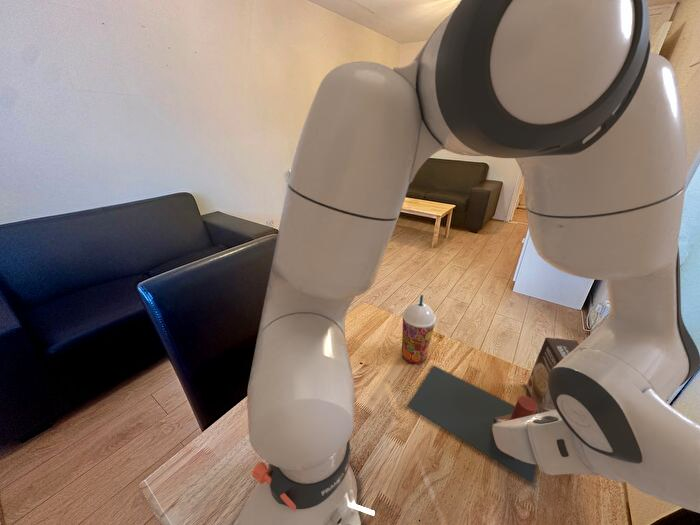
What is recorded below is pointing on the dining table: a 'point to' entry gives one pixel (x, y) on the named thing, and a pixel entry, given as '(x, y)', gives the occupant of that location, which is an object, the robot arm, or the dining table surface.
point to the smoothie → (417, 331)
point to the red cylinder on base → (521, 409)
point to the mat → (466, 415)
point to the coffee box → (547, 369)
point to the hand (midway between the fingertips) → (522, 418)
